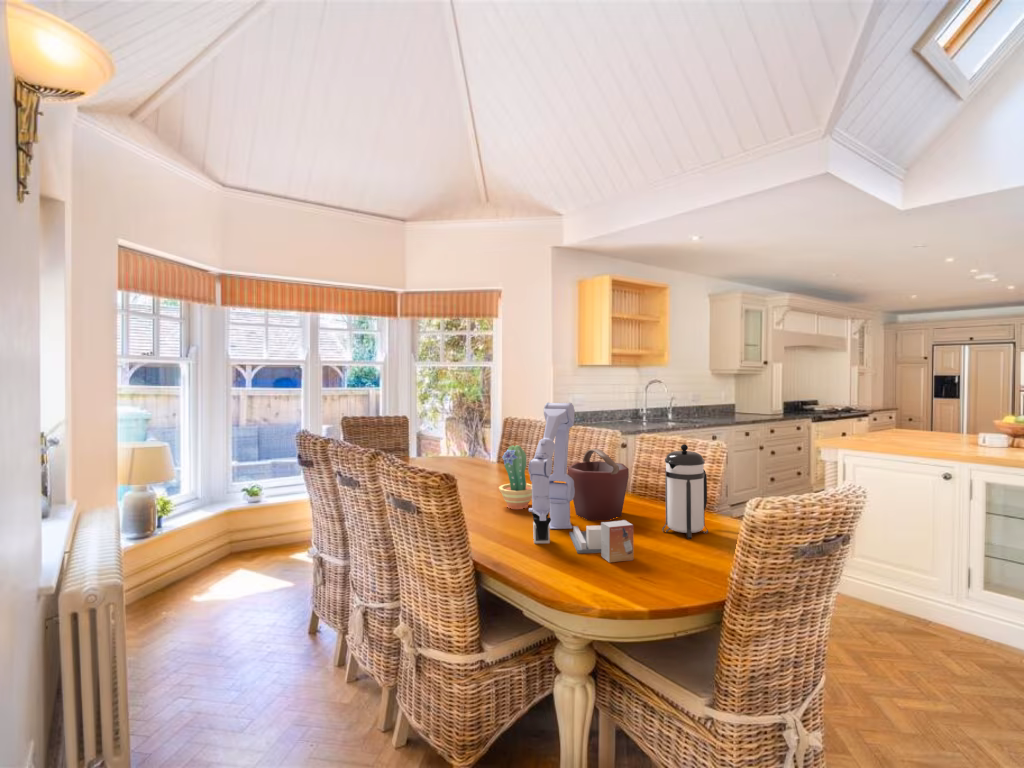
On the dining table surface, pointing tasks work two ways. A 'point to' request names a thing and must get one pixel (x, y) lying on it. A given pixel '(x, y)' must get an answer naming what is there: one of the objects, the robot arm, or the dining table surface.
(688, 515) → the coffee press
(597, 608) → the dining table surface
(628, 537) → the small box
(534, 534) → the block
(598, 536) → the rail plate
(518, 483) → the potted cactus
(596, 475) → the bucket
